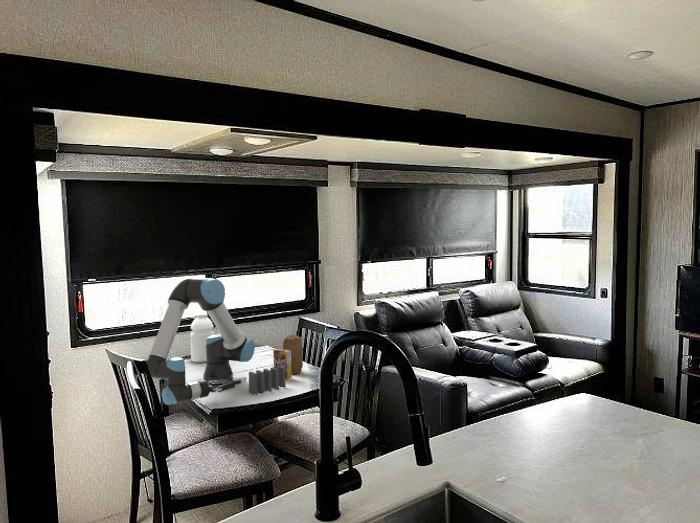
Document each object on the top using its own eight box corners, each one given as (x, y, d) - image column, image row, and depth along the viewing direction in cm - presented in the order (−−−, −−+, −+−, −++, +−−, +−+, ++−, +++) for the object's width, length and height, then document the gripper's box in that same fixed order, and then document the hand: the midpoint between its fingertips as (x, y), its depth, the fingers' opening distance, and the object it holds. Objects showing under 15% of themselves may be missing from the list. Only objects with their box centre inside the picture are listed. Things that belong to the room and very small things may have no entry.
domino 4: (270, 387, 270) (270, 367, 269) (273, 386, 271) (273, 367, 270) (276, 389, 266) (275, 369, 265) (278, 389, 267) (278, 369, 266)
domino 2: (256, 390, 265) (256, 370, 264) (259, 390, 266) (259, 369, 265) (261, 393, 261) (261, 372, 260) (264, 392, 262) (264, 372, 261)
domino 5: (277, 385, 272) (277, 366, 272) (280, 385, 273) (280, 365, 273) (283, 388, 269) (282, 368, 268) (285, 387, 270) (285, 367, 269)
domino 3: (263, 389, 267) (263, 369, 267) (266, 388, 268) (266, 368, 268) (268, 391, 264) (268, 371, 263) (271, 390, 265) (271, 370, 264)
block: (304, 373, 295) (303, 336, 293) (293, 375, 290) (292, 338, 288) (292, 369, 303) (291, 333, 301) (281, 371, 298) (280, 335, 296)
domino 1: (249, 392, 262) (248, 372, 262) (252, 391, 263) (251, 371, 263) (254, 394, 259) (253, 374, 258) (257, 394, 260) (256, 373, 259)
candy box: (273, 378, 286) (272, 349, 284) (278, 376, 289) (277, 347, 288) (287, 380, 281) (286, 351, 280) (292, 378, 285) (291, 349, 284)
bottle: (195, 356, 332) (194, 311, 330) (217, 356, 332) (216, 311, 330) (187, 362, 318) (186, 315, 316) (211, 362, 318) (209, 315, 316)
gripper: (192, 394, 249) (239, 384, 263) (204, 401, 238) (252, 390, 253) (192, 378, 248) (239, 369, 263) (204, 384, 238) (252, 375, 252)
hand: (245, 379), depth 258 cm, fingers closed
